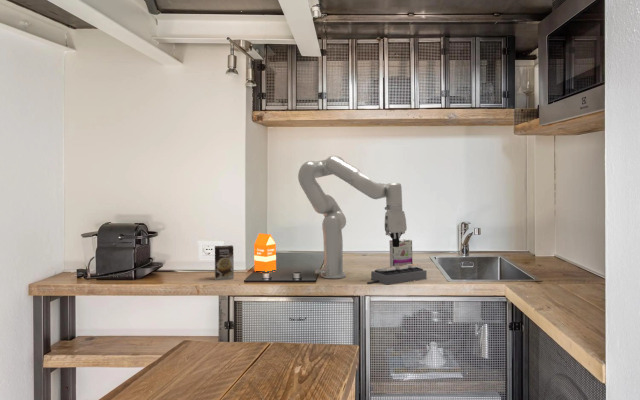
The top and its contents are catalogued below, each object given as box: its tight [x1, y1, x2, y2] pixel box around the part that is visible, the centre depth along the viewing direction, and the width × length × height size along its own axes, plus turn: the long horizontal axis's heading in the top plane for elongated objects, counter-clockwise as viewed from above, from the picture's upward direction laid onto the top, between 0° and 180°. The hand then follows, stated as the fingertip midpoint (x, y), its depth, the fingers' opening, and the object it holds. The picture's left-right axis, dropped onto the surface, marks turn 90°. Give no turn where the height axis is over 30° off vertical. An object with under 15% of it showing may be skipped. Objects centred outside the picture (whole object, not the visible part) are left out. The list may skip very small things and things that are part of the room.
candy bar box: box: [389, 238, 413, 267], centre depth 234 cm, size 11×5×16 cm, turn 105°
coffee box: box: [214, 244, 235, 281], centre depth 222 cm, size 9×6×16 cm
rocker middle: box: [393, 266, 408, 269], centre depth 215 cm, size 5×8×1 cm, turn 28°
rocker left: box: [376, 266, 396, 271], centre depth 212 cm, size 5×8×1 cm, turn 28°
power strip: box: [366, 267, 428, 286], centre depth 214 cm, size 30×12×5 cm, turn 118°
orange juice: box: [253, 233, 277, 272], centre depth 238 cm, size 8×9×20 cm
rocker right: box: [402, 263, 421, 268], centre depth 219 cm, size 5×8×1 cm, turn 28°
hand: (395, 246), depth 214 cm, fingers closed
